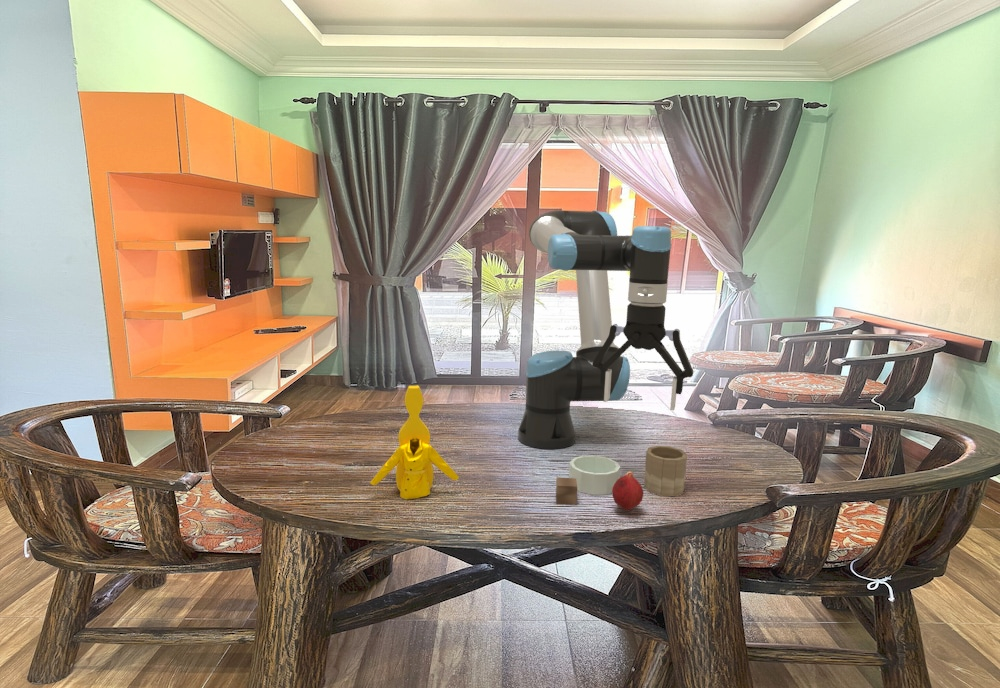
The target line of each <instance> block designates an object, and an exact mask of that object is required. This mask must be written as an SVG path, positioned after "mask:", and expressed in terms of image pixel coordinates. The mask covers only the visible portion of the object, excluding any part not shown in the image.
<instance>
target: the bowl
mask: <svg viewBox="0 0 1000 688" xmlns="http://www.w3.org/2000/svg"><path fill="white" fill-rule="evenodd" d="M568 470H569V471H568V478H576V480H577V492H580V493H583V494H587V495H591V496H599V495H600V496H605V495H606V496H608V495H611V494H612V489H613V486H614V484H615V482H616V481H617V480H618V479H619V478H620V477H621V466H620V464H619V463H618V461H615V460H614V459H612V458H609V457H605V456H601V455H600V456H599V455H580V456H577V457H573V458H572V459H571V460H570V461H569V469H568Z"/></svg>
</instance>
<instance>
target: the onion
mask: <svg viewBox="0 0 1000 688" xmlns="http://www.w3.org/2000/svg"><path fill="white" fill-rule="evenodd" d="M611 494H612V498H613V501H614V503H615V504H616V505H617V506H618V507H619V508H621V509H622V510H624V511H625V512H629V511H631V510H632V509H634V508H636V507H638V506H639V505H640V504H641V502H642V501H643V498H644V489H643V487H642V485H641V483H640V482H639V481H638V479H637V478H635V477H634V473H633V472H632V471H628V472H627V473H626V474H625V475H622V476H620V478H619V479H618V480H617V481H616V482H615V484H614V486H613V489H612V493H611Z"/></svg>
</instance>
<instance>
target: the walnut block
mask: <svg viewBox="0 0 1000 688" xmlns="http://www.w3.org/2000/svg"><path fill="white" fill-rule="evenodd" d="M555 484H556V485H555V486H556V487H555V503H556V505H566V506H567V505H568V506H569V505H570V506H577V504H578V503H577V502H578V491H577V480H576V478H569V477H559V476H558V477H557V476H556V483H555Z"/></svg>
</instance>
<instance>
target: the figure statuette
mask: <svg viewBox="0 0 1000 688" xmlns="http://www.w3.org/2000/svg"><path fill="white" fill-rule="evenodd" d="M404 405H405V408H406V411H407V412H408V415H409V416H408V418H407V419H406V420H405V422H404V423H403V425H402V426H401V428H399V431H398V437H397V438H398V444H399V446H397V448H396V449H395V450H396V451H395V450H394V452H393V454H392V455H391V456H390V457H389V459H388V460H387V461H386V462H385V463H384V464H383V465H382V466H381V468H380V469H379V470H378V472H377V473H376V474H375V475H374V477H373V478H372V480H371V481H370V482H369V483H370V485H372V486H377V485H378V484H379V483H380V482H381V481H382V480H383V479H384V478H385V477H386V476H387V475H389V474H390V472H392V471H393V470H394V469H395V482H396V487H397V489H398V491H400V492H399V497H400V498H401V499H403V500H414V499H420V498H421V497H427V496H428V495H430V494H431V488H432V486H433V482H434V468H433V465H434V466H435V467H436V468H437V469H438V470H440V471H441V472H442V473H443V474H445V476H447V477H448V478H449V479H450V480H452V481H453V482H454V481H457V480H459V479H460V476H459V475H458V474H457V473H456V472H455V471H454V470H453V468H452V467H451V466H450V465H449V464H448V463H447V462H446V461H445V460H444V458H443V457H442V455H440V453H439V452H437V450H436V449H435V448H434V447H433V446H432V445H431V444H430V442H431V434H430V430H429V428H428V427H427V425H426V424H425V423H424V422H423V420H422V419H421V418H420V416H419V415H420V413H421V411H422V409H423V406H424V396H423V393H422V390H421V388H420V386H419V385H418V384H417V385H408V387H407V389H406V392H405V395H404Z"/></svg>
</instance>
